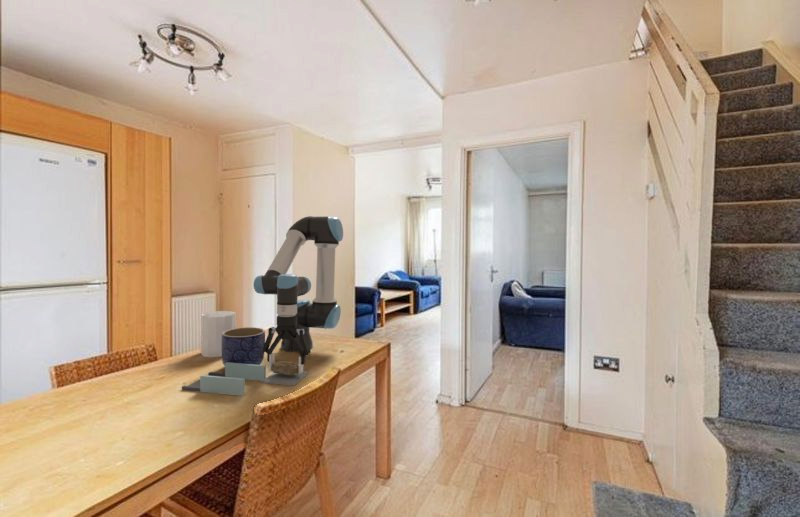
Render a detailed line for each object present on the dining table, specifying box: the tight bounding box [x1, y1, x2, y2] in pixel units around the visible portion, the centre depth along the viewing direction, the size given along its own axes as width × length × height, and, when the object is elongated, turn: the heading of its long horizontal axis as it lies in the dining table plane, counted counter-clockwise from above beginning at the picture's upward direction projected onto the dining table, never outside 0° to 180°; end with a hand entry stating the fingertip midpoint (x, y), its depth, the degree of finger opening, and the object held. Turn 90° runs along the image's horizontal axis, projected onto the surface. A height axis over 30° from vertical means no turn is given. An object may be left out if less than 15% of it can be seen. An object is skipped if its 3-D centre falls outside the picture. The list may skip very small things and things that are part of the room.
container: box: [200, 310, 237, 358], centre depth 172 cm, size 14×14×18 cm
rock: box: [271, 360, 299, 375], centre depth 143 cm, size 8×11×4 cm
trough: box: [181, 362, 267, 397], centre depth 134 cm, size 15×23×6 cm, turn 81°
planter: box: [221, 326, 266, 367], centre depth 153 cm, size 17×17×15 cm
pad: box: [261, 371, 310, 387], centre depth 143 cm, size 13×13×1 cm
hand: (286, 371), depth 143 cm, fingers closed on rock, 11 cm apart
